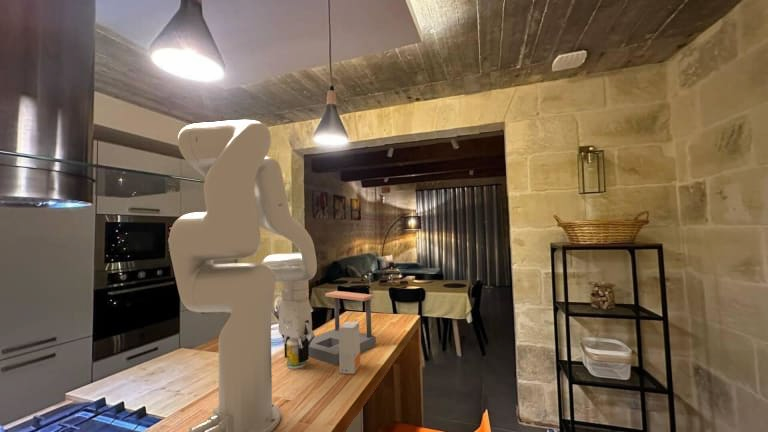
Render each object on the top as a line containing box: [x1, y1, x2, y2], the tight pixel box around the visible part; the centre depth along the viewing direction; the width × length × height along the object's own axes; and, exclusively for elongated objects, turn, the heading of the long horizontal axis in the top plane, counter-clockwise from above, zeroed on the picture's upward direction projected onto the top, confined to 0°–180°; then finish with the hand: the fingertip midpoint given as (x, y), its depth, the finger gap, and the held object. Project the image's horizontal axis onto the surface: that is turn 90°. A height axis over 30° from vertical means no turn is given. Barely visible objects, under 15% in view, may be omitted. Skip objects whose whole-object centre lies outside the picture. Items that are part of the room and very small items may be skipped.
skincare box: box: [338, 321, 361, 375], centre depth 83 cm, size 6×4×12 cm
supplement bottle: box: [286, 337, 307, 370], centre depth 86 cm, size 5×5×10 cm
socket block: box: [309, 290, 377, 366], centre depth 98 cm, size 18×18×16 cm
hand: (296, 358), depth 86 cm, fingers open, 5 cm apart
